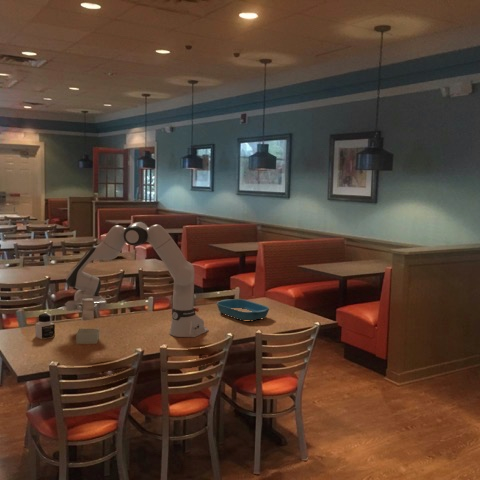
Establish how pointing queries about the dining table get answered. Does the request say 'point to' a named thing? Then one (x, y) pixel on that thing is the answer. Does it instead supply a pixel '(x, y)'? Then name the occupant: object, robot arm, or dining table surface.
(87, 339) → the riser block
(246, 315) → the casserole dish
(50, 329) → the medicine bottle
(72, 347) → the dining table surface
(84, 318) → the ash block
